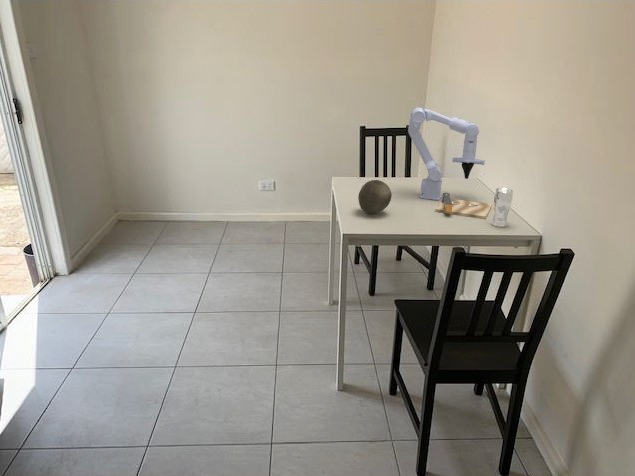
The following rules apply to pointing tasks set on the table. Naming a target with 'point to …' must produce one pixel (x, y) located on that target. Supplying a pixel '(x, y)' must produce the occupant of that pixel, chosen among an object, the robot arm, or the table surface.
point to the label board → (466, 208)
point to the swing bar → (447, 202)
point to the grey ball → (374, 196)
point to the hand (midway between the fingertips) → (466, 178)
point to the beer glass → (502, 206)
